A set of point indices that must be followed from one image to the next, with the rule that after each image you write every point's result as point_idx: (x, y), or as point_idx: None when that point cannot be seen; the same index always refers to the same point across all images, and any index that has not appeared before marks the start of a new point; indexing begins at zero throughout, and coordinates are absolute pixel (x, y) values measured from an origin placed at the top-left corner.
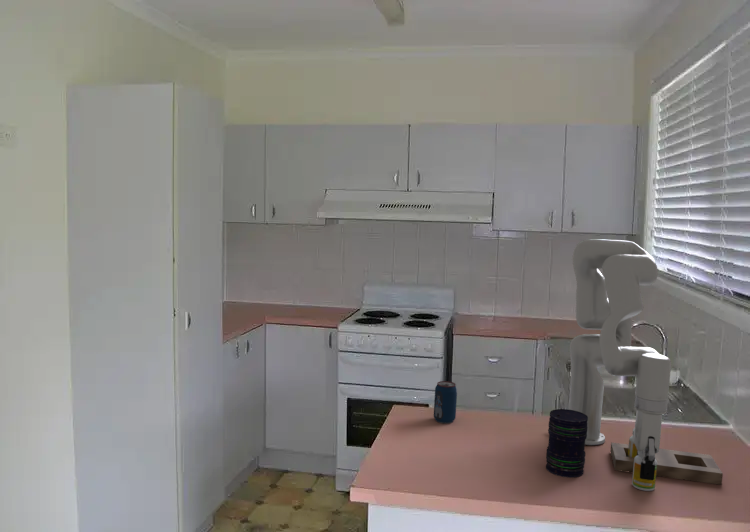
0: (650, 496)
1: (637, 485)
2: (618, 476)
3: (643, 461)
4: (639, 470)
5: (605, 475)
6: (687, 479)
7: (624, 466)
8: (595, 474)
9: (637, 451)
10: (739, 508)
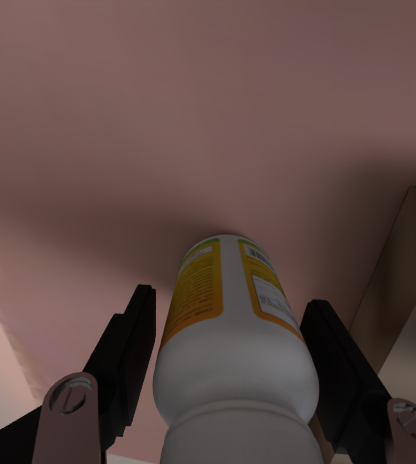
0: (135, 279)
1: (190, 253)
2: (328, 189)
3: (45, 401)
4: (178, 306)
5: (337, 117)
6: (315, 412)
7: (411, 240)
8: (349, 48)
9: (383, 392)
10: (147, 457)
